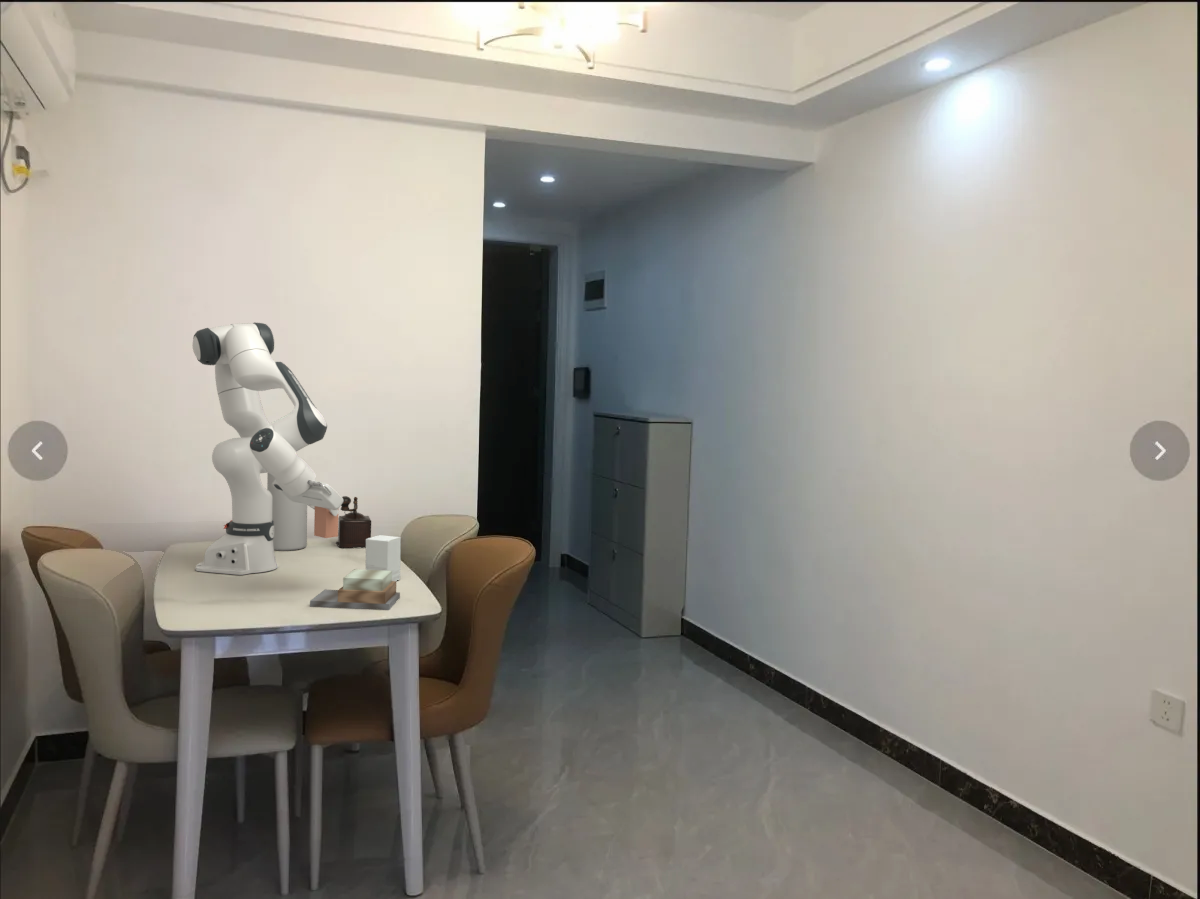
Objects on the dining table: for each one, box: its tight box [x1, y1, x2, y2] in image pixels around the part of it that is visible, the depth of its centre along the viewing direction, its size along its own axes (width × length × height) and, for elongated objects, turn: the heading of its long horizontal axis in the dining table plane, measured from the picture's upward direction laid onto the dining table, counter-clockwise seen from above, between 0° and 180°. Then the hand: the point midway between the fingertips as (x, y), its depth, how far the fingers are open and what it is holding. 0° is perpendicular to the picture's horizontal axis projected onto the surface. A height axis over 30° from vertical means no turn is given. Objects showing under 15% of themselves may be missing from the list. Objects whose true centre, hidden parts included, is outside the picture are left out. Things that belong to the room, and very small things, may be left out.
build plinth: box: [309, 568, 401, 611], centre depth 235 cm, size 20×12×8 cm, turn 89°
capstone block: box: [313, 506, 340, 539], centre depth 246 cm, size 4×5×9 cm
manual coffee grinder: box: [336, 495, 372, 549], centre depth 305 cm, size 16×11×18 cm
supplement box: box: [365, 534, 402, 582], centre depth 258 cm, size 7×7×13 cm
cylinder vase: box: [266, 473, 308, 552], centre depth 299 cm, size 12×12×25 cm
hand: (328, 512), depth 247 cm, fingers closed on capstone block, 5 cm apart
